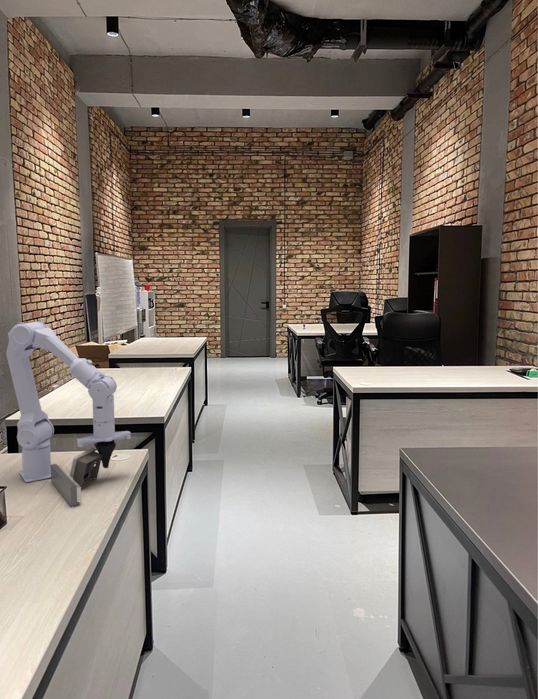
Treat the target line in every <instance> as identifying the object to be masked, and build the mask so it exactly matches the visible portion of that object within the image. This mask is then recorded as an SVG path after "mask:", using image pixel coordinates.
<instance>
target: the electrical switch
mask: <svg viewBox="0 0 538 699" xmlns="http://www.w3.org/2000/svg"><path fill="white" fill-rule="evenodd" d="M101 459H102V455H101V454H99V453H98V451H96V447H91V448H89V449H87V450H85V451H83V452H81V453H80V454H77V455H75V456H74V457H73V460H72V463H71V468H70V473H69V475H70V476H71V477H72V478H73V479H74V481H75V482H76V483H77V484H78V485H79V486H80V487H81V490H82V489H84V488H86V487H88V485H91V484H92V483H93V482H95V481H97V479H98V475H99V470H100V467H101V464H102V461H101Z"/></svg>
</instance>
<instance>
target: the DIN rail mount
mask: <svg viewBox="0 0 538 699" xmlns="http://www.w3.org/2000/svg"><path fill="white" fill-rule="evenodd" d="M50 482H51V484H52V486H54V488H55V489H56V490H57V491H58V493H59V494H60V495H61V496H62V497H63V499H64V500H65V501H66V502H67V503H68V505H69V506H70V508H73V507H76V506H78V502H82V489H81V487H80V486H79V485H78V484H77V483H76V482H75V481H74V479H73V478H72V477H71V476H70V473H68V472H67V470H66V469H65V468H64V467H63V465H60V464H57V463H51V478H50ZM72 506H73V507H72Z"/></svg>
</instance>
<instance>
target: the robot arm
mask: <svg viewBox="0 0 538 699" xmlns="http://www.w3.org/2000/svg"><path fill="white" fill-rule="evenodd" d="M7 336H8V343H7V344H8V345H7V348H6V351H5V352H6V353H5V354H6V358H7V363H8V367H9V371H10V375H11V380H12V384H13V387H14V392H15V396H16V401H17V404H18V408H19V412H20V417H19V419H18V421H17V423H16V426H17V435H16V439H17V443H18V445H19V446H20V447H21V462H22V470H19V471H18V473H19V475H20V476H21V478H22V479H23V481H24V482H25V483H29V482H35V481H40V480H45V479H51V465H52V460H51V454H52V453H51V438H52V437H53V436H54V433H55V428H54V424H53V423H52V422H51V421H50V420H49V415H48V413H46V412H45V411H43V410H42V407H41V402H40V398H39V394H38V390H37V385H36V382H35V377H34V373H33V368H32V364H31V360H30V356H31V355H32V353H33V352H34V351H35V349H44V350H47V351H49V352H50V353H52V354H53V355H54V356H55V357H56V358H57V359H59V360H60V361H62V362H63V363H64V364H65V365H66V366H68V367H69V374H70V375H71V376H72V377H74V378H75V380H77V381H78V382H79V383H80V384H82V386H83V387H85V388H86V389H87V393H88V396H90V398H91V399H92V400H91V401H92V425H93V426H92V427H93V434H92V435H88V436H84V437H81V438H80V437H79V438H77V439H76V445H77V447H78V448H83V447H86V446H91V445H94V448H95V450H97V451H96V452H97V453H99V454H101V455H102V459H101V464H102V467H103V468H104V469H108V468H109V465H110V461H111V456H112V454H113V452H114V450H115V448H116V444H117V442H115V441H121V440H131V439H132V436H131V434H132V433H131V431H129V430H125V431H123V430H122V431H116V429H115V428H116V427H115V426H116V425H115V423H116V422H115V396H114V394H115V393H116V392H117V388H118V387H117V382H116V380H115V379H114V377H112V376H110V375H106V374H105V373H104V372H101V371H100V370H99V369H98V368H96V367H95V365H93V361H92V360H91V359H87V358H80V357H78V356H77V355H76V354H75V353H74V352H73V350H71V349H70V348H69V347H68V346H67V345H66V343H64V342H63V340H61V339H60V338H59V337H58V336H57V335H56V334H55V332H54V331H53V329H52V328H50V327H48V326H47V324H45V322H42V321H38V320H37V321H33V322H26V323H23V322H22V323H21V322H20V323H18V324H15V325H13V327H12V328H11V329H10V330H9V332H8V333H7Z"/></svg>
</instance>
